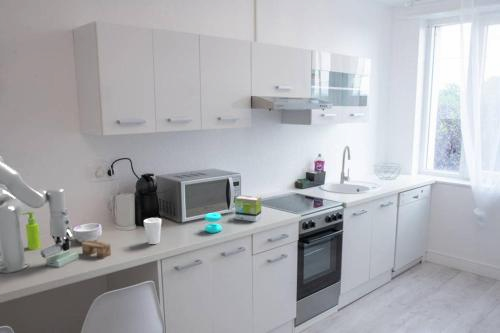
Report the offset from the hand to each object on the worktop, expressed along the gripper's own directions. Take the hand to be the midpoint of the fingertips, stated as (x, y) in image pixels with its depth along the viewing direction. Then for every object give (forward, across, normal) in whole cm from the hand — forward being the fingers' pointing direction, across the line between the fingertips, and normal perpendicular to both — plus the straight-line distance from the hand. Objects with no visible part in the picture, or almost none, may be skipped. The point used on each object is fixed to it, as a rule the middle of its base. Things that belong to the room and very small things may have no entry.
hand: (62, 249), depth 194 cm
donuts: (+8, -47, -68) cm, 83 cm away
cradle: (+6, 0, 0) cm, 6 cm away
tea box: (+8, -56, -98) cm, 114 cm away
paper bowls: (+7, +12, -28) cm, 31 cm away
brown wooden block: (+7, -9, -13) cm, 17 cm away
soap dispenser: (+6, +31, -8) cm, 33 cm away
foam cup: (+7, -26, -38) cm, 46 cm away
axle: (0, 0, +4) cm, 4 cm away
